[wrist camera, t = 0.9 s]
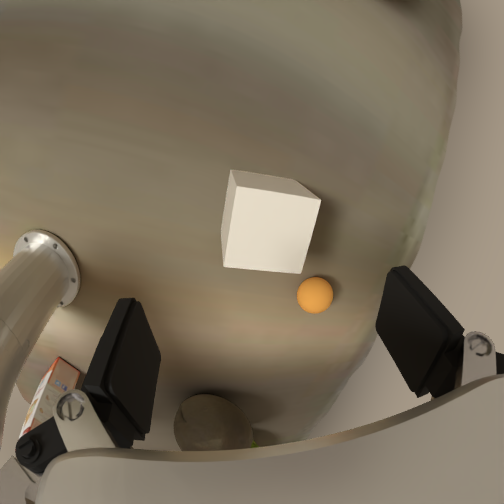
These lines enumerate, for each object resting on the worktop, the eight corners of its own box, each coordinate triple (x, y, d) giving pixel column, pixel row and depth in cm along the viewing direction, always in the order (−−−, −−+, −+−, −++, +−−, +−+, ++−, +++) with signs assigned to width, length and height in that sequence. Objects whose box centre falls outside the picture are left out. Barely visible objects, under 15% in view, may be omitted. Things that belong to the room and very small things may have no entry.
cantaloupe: (187, 417, 52) (188, 476, 38) (166, 382, 45) (161, 452, 32) (250, 410, 53) (260, 470, 39) (241, 373, 46) (252, 446, 33)
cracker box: (57, 354, 40) (23, 443, 21) (81, 371, 42) (56, 462, 24) (39, 377, 43) (13, 451, 24) (61, 392, 45) (39, 466, 27)
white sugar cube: (281, 238, 35) (300, 273, 28) (220, 231, 34) (223, 266, 26) (294, 179, 32) (321, 200, 24) (230, 169, 31) (236, 186, 23)
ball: (306, 304, 41) (317, 326, 36) (285, 287, 39) (294, 309, 34) (331, 283, 40) (345, 303, 35) (312, 263, 38) (324, 283, 33)
